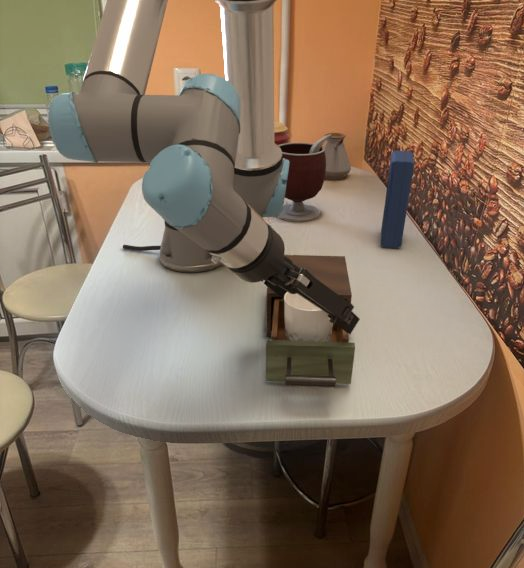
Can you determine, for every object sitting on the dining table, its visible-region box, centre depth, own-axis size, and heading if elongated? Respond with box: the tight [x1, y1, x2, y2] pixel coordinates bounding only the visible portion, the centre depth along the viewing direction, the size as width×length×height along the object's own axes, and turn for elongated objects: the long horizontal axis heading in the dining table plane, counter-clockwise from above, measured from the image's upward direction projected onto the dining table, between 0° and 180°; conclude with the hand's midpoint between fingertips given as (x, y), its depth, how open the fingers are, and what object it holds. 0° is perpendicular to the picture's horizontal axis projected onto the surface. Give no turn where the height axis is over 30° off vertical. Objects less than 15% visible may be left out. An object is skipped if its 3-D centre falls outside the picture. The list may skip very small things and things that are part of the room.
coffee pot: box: [323, 132, 352, 180], centre depth 166 cm, size 21×12×15 cm, turn 179°
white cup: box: [284, 292, 333, 342], centre depth 83 cm, size 8×8×10 cm
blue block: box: [379, 150, 415, 250], centre depth 124 cm, size 10×5×20 cm, turn 168°
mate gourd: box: [276, 134, 332, 223], centre depth 139 cm, size 16×14×20 cm
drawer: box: [265, 298, 356, 389], centre depth 82 cm, size 20×13×7 cm, turn 177°
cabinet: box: [266, 254, 353, 337], centre depth 97 cm, size 16×14×9 cm
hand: (320, 309), depth 84 cm, fingers open, 13 cm apart
